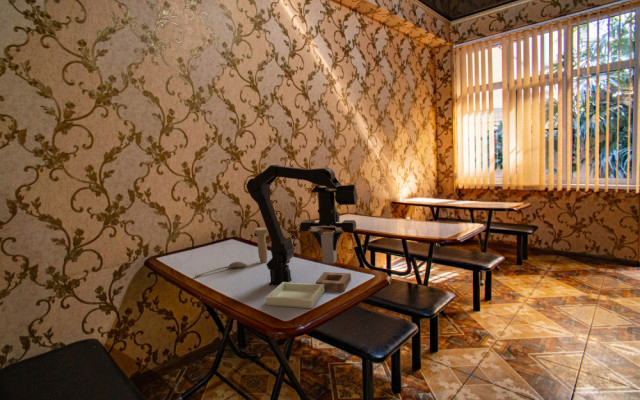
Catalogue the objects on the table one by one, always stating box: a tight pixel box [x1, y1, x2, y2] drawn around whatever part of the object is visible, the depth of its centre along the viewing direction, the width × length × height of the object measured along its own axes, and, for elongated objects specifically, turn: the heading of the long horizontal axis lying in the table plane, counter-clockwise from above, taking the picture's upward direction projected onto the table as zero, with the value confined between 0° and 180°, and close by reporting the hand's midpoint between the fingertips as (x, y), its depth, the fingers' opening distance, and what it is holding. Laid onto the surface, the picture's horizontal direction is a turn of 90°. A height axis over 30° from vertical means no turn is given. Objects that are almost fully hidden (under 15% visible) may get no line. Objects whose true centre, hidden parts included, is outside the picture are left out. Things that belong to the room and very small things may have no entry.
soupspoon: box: [194, 261, 248, 279], centre depth 142 cm, size 22×3×7 cm
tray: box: [265, 281, 326, 310], centre depth 109 cm, size 15×13×2 cm
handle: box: [253, 227, 268, 264], centre depth 149 cm, size 5×6×15 cm
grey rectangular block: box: [321, 231, 338, 264], centre depth 117 cm, size 4×4×10 cm
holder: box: [315, 271, 352, 292], centre depth 119 cm, size 10×10×2 cm
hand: (329, 250), depth 117 cm, fingers closed on grey rectangular block, 4 cm apart
